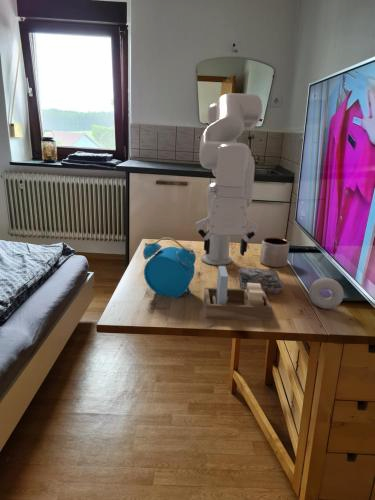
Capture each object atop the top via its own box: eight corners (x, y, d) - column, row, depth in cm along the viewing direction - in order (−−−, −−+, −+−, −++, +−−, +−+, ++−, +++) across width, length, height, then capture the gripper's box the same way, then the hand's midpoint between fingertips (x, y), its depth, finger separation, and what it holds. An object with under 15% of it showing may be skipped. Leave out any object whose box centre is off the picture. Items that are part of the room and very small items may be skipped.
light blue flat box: (215, 302, 116) (218, 265, 112) (222, 302, 116) (225, 266, 112) (218, 315, 108) (221, 276, 104) (225, 315, 108) (228, 276, 104)
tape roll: (306, 307, 118) (311, 277, 114) (306, 302, 121) (311, 273, 118) (340, 313, 115) (346, 283, 111) (340, 308, 118) (346, 279, 114)
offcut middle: (243, 296, 115) (244, 289, 114) (256, 297, 115) (257, 289, 114) (249, 308, 108) (250, 300, 107) (263, 308, 108) (264, 301, 107)
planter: (257, 258, 159) (259, 236, 156) (282, 259, 160) (285, 237, 157) (262, 267, 149) (265, 244, 146) (290, 268, 150) (293, 245, 147)
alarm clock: (199, 293, 124) (202, 234, 118) (188, 306, 115) (192, 243, 108) (152, 284, 129) (152, 227, 123) (138, 296, 120) (138, 235, 113)
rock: (231, 291, 125) (238, 265, 121) (235, 281, 133) (242, 256, 129) (277, 307, 122) (287, 280, 118) (279, 296, 130) (288, 270, 126)
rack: (203, 302, 118) (204, 287, 116) (261, 304, 118) (263, 289, 117) (205, 321, 106) (206, 305, 105) (269, 323, 107) (271, 307, 105)
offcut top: (246, 290, 114) (247, 282, 113) (259, 290, 114) (260, 283, 113) (248, 299, 107) (249, 292, 107) (262, 300, 107) (262, 293, 106)
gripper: (197, 192, 97) (194, 256, 102) (264, 195, 97) (258, 259, 103) (196, 188, 104) (193, 248, 109) (259, 191, 105) (253, 250, 110)
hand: (224, 253), depth 106 cm, fingers open, 9 cm apart
